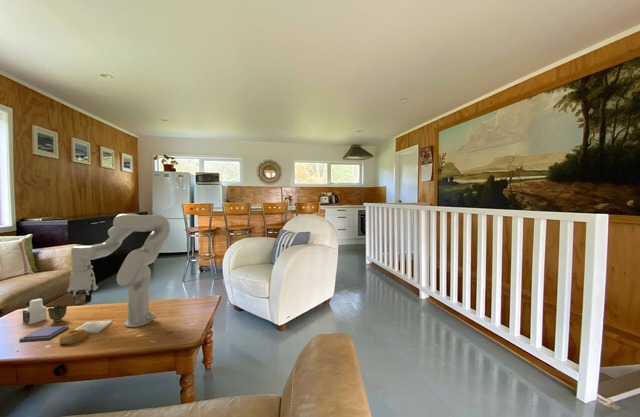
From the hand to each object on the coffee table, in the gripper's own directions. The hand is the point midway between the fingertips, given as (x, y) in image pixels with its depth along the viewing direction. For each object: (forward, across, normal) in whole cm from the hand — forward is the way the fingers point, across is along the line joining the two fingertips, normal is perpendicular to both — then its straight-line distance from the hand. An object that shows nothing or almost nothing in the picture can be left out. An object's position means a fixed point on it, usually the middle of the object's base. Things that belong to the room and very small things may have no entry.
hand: (83, 301), depth 144 cm
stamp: (+1, 0, 0) cm, 1 cm away
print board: (+12, -8, +8) cm, 17 cm away
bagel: (+12, -8, +19) cm, 24 cm away
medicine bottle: (+10, +28, -7) cm, 31 cm away
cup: (+11, +16, -4) cm, 19 cm away
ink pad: (+11, +10, +12) cm, 19 cm away
